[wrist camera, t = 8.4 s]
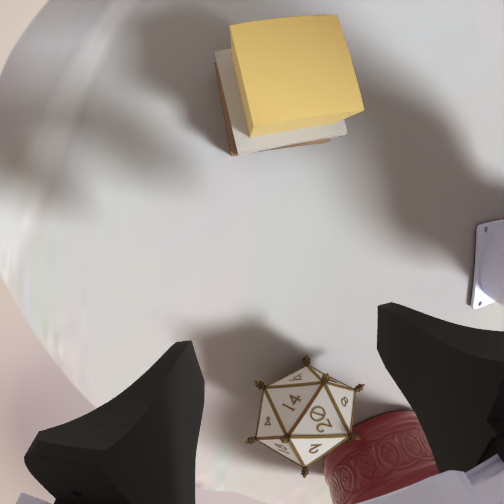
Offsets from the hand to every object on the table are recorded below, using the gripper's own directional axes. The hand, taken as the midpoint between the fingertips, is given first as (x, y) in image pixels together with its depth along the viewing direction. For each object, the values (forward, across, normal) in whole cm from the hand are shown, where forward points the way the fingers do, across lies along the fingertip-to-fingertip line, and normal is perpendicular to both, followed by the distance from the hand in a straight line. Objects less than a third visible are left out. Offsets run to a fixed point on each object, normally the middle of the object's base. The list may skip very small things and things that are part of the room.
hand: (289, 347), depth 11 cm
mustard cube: (+6, -2, -10) cm, 12 cm away
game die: (+11, -1, +11) cm, 15 cm away
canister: (+11, -9, +24) cm, 28 cm away
